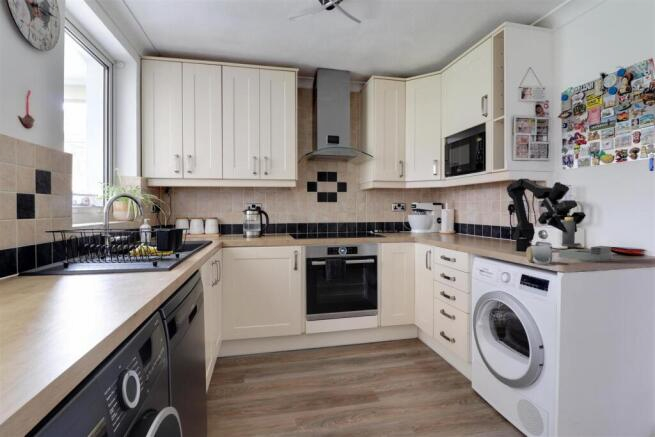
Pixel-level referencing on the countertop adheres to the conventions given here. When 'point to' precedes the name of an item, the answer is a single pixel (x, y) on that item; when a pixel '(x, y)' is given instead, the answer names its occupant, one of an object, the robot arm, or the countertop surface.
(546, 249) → the ceramic mug
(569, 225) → the plug
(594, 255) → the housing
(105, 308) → the countertop surface
